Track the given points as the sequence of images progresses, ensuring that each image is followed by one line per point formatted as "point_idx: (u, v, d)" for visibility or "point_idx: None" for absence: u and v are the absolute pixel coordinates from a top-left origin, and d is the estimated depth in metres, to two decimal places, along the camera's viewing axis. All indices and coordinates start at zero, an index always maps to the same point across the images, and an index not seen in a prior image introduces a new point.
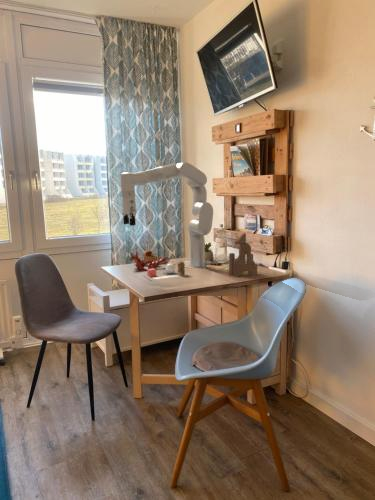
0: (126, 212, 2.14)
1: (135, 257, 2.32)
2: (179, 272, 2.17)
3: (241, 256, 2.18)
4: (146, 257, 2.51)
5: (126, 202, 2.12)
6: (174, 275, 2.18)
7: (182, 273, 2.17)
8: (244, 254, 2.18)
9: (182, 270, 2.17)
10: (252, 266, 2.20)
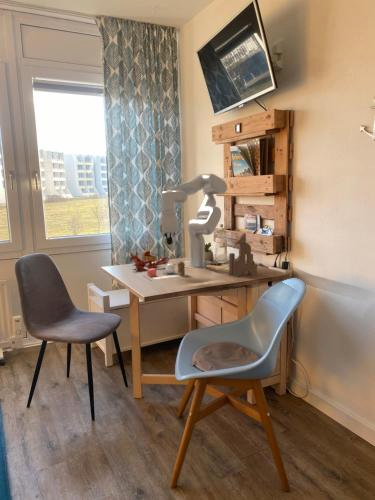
0: (174, 230, 2.18)
1: (135, 257, 2.32)
2: (179, 272, 2.17)
3: (241, 256, 2.18)
4: (145, 257, 2.51)
5: (174, 220, 2.17)
6: (174, 275, 2.18)
7: (182, 273, 2.17)
8: (244, 254, 2.18)
9: (182, 270, 2.17)
10: (252, 266, 2.20)
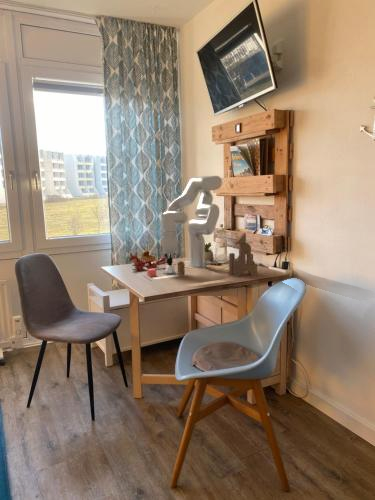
0: (174, 250, 2.20)
1: (134, 257, 2.31)
2: (179, 272, 2.17)
3: (241, 256, 2.18)
4: (144, 257, 2.50)
5: (175, 241, 2.19)
6: (174, 275, 2.18)
7: (182, 273, 2.17)
8: (244, 254, 2.18)
9: (182, 270, 2.17)
10: (252, 266, 2.20)
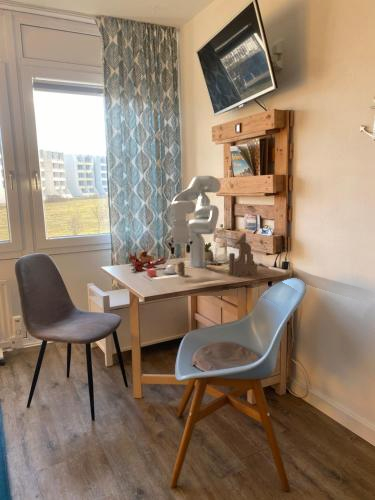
0: (185, 241, 2.15)
1: (134, 257, 2.30)
2: (179, 272, 2.17)
3: (241, 256, 2.18)
4: (142, 257, 2.50)
5: (186, 231, 2.14)
6: (174, 275, 2.18)
7: (182, 273, 2.17)
8: (244, 254, 2.18)
9: (182, 270, 2.17)
10: (252, 266, 2.20)
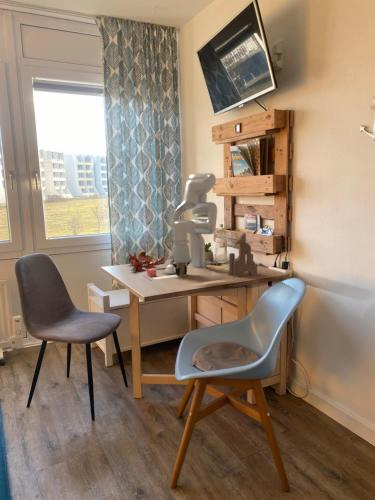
0: (186, 260, 2.17)
1: (133, 258, 2.30)
2: (179, 272, 2.17)
3: (241, 256, 2.18)
4: (141, 258, 2.49)
5: (186, 250, 2.16)
6: (174, 275, 2.18)
7: (182, 273, 2.17)
8: (244, 254, 2.18)
9: (182, 270, 2.17)
10: (252, 266, 2.20)
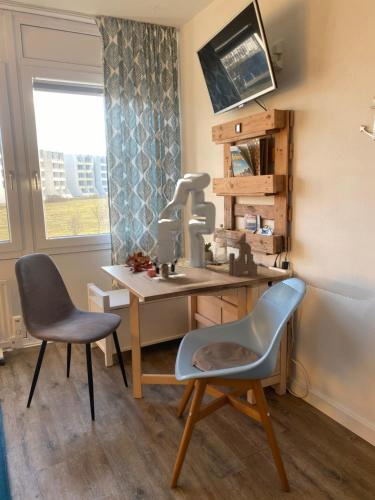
0: (170, 260, 2.12)
1: (133, 258, 2.29)
2: (163, 274, 2.13)
3: (241, 256, 2.18)
4: (138, 258, 2.48)
5: (170, 250, 2.11)
6: (174, 275, 2.18)
7: (166, 275, 2.13)
8: (244, 254, 2.18)
9: (166, 272, 2.12)
10: (252, 266, 2.20)
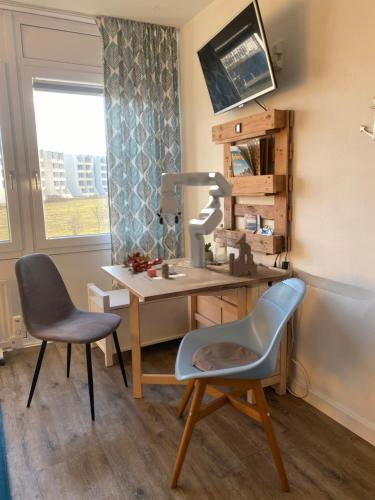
0: (173, 211, 2.21)
1: (133, 258, 2.28)
2: (163, 274, 2.13)
3: (241, 256, 2.18)
4: (136, 258, 2.47)
5: (174, 201, 2.20)
6: (174, 275, 2.18)
7: (166, 275, 2.13)
8: (244, 254, 2.18)
9: (166, 272, 2.12)
10: (252, 266, 2.20)
